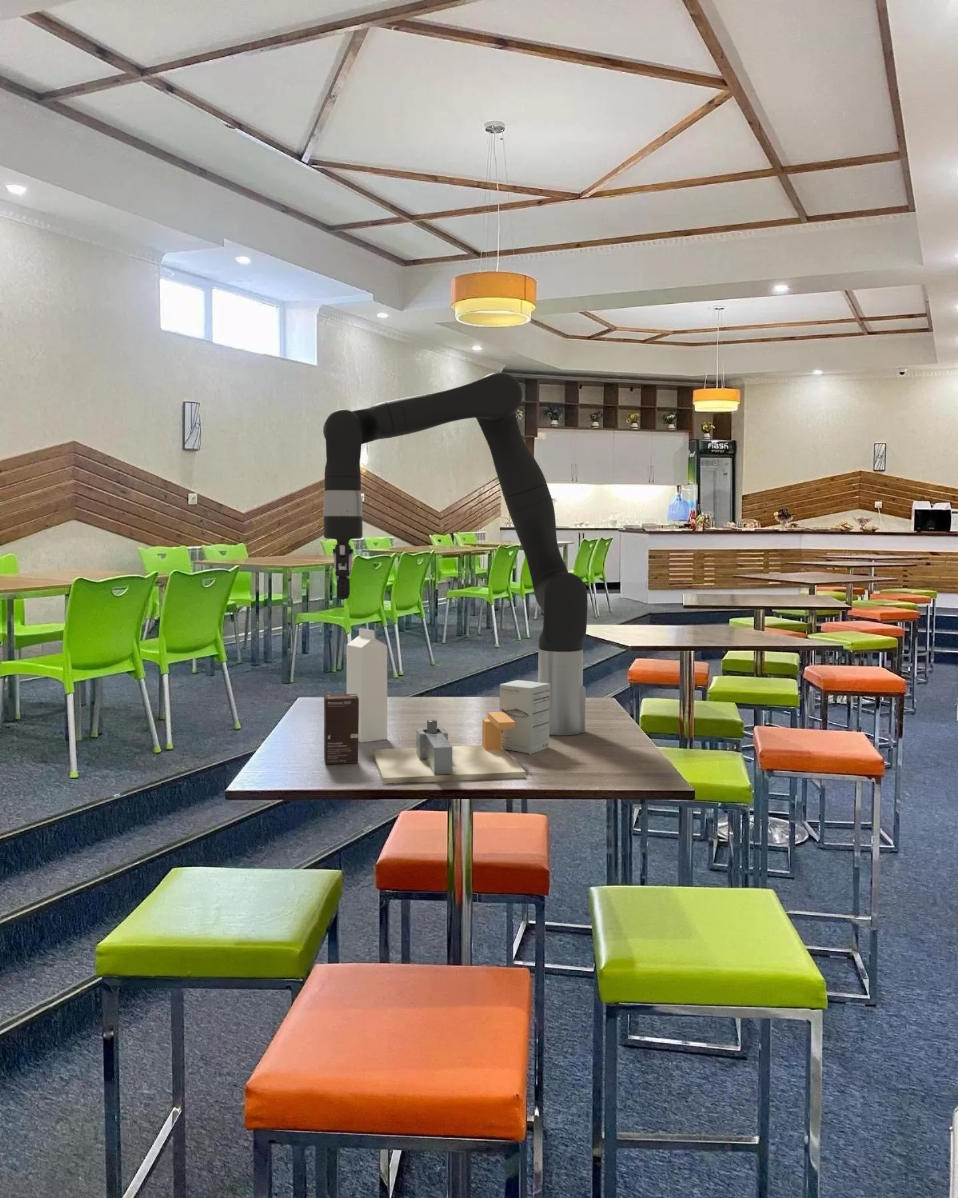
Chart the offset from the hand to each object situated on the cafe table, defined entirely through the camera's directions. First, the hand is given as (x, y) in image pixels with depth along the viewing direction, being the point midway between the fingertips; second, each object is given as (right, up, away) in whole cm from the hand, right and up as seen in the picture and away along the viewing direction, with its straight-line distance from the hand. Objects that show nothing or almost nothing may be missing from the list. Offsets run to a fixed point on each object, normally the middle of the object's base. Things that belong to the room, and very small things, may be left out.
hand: (343, 597), depth 187 cm
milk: (+4, -29, +4) cm, 29 cm away
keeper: (+30, -30, -12) cm, 44 cm away
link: (+19, -29, -21) cm, 40 cm away
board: (+21, -30, -18) cm, 41 cm away
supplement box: (+35, -29, -4) cm, 46 cm away
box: (+2, -30, -16) cm, 34 cm away
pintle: (+18, -30, -16) cm, 38 cm away
